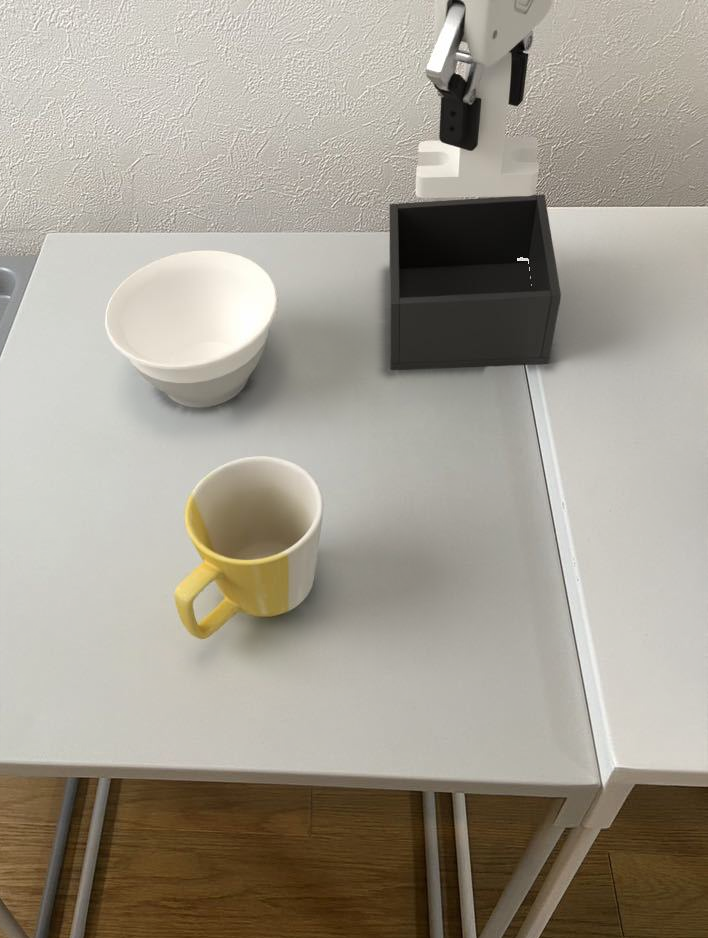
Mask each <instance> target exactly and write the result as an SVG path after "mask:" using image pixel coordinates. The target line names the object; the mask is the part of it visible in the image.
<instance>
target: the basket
mask: <svg viewBox="0 0 708 938" xmlns="http://www.w3.org/2000/svg"><path fill="white" fill-rule="evenodd" d="M551 230H552V229H551V224H550V219H549V211H548V207H547V200H546V195H545V194H534V195H531V196H504V197H476V198H462V199H448V200H446V199H445V200H431V201H416V202H415V201H414V202H402V203H401V202H400V203H389V259H388V260H389V263H388V264H389V339H390V340H389V344H390V345H389V346H390V347H389V348H390V349H389V350H390V355H389V356H390V357H389V358H390V360H389V361H390V370H415V369H416V370H417V369H441V368H442V369H443V368H467V367H469V368H470V367H494V366H495V367H496V366H520V365H521V366H522V365H543V364H544V365H546V364H549V362H550V357H551V352H552V347H553V342H554V341H553V340H554V337H555V332H556V331H555V330H556V324H557V321H558V316H559V315H558V314H559V309H560V304H561V298H562V294H561V288H560V287H561V286H560V281H559V274H558V268H557V262H556V255H555V249H554V243H553V238H552V231H551ZM520 257H523V258H528V259H529V264H528V261H517V258H520ZM529 267H530V271H529ZM530 276H531V279H530ZM531 284H532V286H531Z"/></svg>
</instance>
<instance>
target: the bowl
mask: <svg viewBox="0 0 708 938" xmlns="http://www.w3.org/2000/svg"><path fill="white" fill-rule="evenodd" d="M278 305H279V296H278V290H277V287H276V285H275V283H274V280H273V278H272V277H271V275H270V274H269V273H268V272H267V270H265V268H264V267H263V266H261V265H259V264H258V263H256V262H255V261H254V260H253V259H250V258H247V257H245V256H243V255H240V254H236V253H232V252H228V251H222V250H212V249H211V250H210V249H208V250H206V249H205V250H192V251H184V252H178V253H175V254H172V255H168V256H164V257H162V258H159V259H157V260H155V261H154V260H153V261H152V262H149V263H148V264H146V265H144V266H142V267H141V268H139V269H136V271H135V272H133V273H132V274H131V275H129V276H128V277H127V278H126V279H124V280H123V281H122V282H121V284H120V285H119V286H118V287H117V288H116V289H115V290H114V292H113V293H112V295H111V298H110V299H109V300H108V303H107V307H106V310H105V315H104V316H105V318H104V326H105V331H106V333H107V337H108V339H109V340H110V342H111V344H112V346H114V348H115V349H117V350H118V351H119V353H121V354H122V355H123V356H124V357H126V358H128V360H129V361H130V363H131V365H133V367H134V368H135V370H136V371H137V373H138V374H139V376H141V377H142V378H143V379H144V380H146V382H148V383H149V384H151V385H152V387H154V388H155V389H157V390H158V391H161V392H162V393H165V394H166V395H167V397H169V398H170V399H171V400H172V401H174V402H176V403H177V404H179V405H182V406H185V407H190V408H211V407H214V406H218V405H221V404H224V403H226V402H229V401H230V400H232V399H234V398H235V397H236V396H237V395H238V394H239V393H241V392H242V390H243V389H244V387H245V386H246V385H247V383H248V381H249V378H250V376H251V374H252V373H253V371H254V370H255V368H256V367H257V366H258V363H259V361H260V359H261V358H262V356H263V353H264V350H265V348H266V345H267V344H266V343H267V338H268V335H269V330H270V326H271V325H272V323H273V321H274V319H275V317H276V314H277V311H278Z"/></svg>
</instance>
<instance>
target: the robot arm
mask: <svg viewBox="0 0 708 938" xmlns="http://www.w3.org/2000/svg"><path fill="white" fill-rule="evenodd" d="M552 6H553V0H434V5H433V41H434V43H433V44H434V48H433V51H432V53H431V55H430V58H429V61H428V63H427V65H426V69H425V77H426V78H428V80H429V81H430V82H431V83H432V84H433V87H434V88H435V89H436V91H437V96H438V97H440V111H439V113H440V114H439V134H438V139H439V140H440V141H441V142H442V143H445V144H449V145H452V146H455V147H458V148H462V149H465V150H468V151H473V150H474V149H475V148H476V147H477V145H478V135H479V123H480V111H481V98H477V97H476V96H477V92H478V88H479V84H480V80H481V76H482V72H483V68H484V66H486V67H488V66H491V65H493V64H495V63H496V62H497V61H499V60H500V59H501V58H502V57H503V56H505V55H506V54H507V53H511V79H510V92H509V103H508V106H513V107H518V106H519V105H521V103H523V101H524V95H525V87H526V80H527V79H526V78H527V70H528V63H529V62H528V61H529V53H527V52H528V51H530V49H531V48H532V45H533V41H534V32H533V30H534V29H535V28H536V27H537V26H538V25H539V24H540V23H541V22H542V21H543V20H545V18H546V16H547V15H548V14H549V12H550V10H551V8H552ZM462 42H463V43H466V45H467V48H468V51H467V50H462V49H460V46H461V43H462ZM458 62H460V63H464V64H465V63H468V64H471V66H470V70H469V74H468V78H467V82H466V81H465V80H464V76H462V74H459V73H456V70H457V66H458Z"/></svg>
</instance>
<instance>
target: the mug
mask: <svg viewBox="0 0 708 938" xmlns="http://www.w3.org/2000/svg"><path fill="white" fill-rule="evenodd" d="M323 516H324V497H323V493H322V490H321V488H320V486H319V483H318V482H317V480H316V479H315V478H314V477H313V476H312V474H310V472H308V471H307V470H306V469H304V467H302V466H300V465H298V464H296V463H295V462H292V461H289V460H286V459H283V458H279V457H274V456H266V455H265V456H264V455H258V456H257V455H255V456H247V457H246V456H245V457H242V458H238V459H233V460H231V461H229V462H227V463H225V464H222V465H220V466H218V467H216V468H214V469H213V470H212V471H211V472H209V473H208V474H206V475H204V477H203V478H201V480H199V481H198V483H197V484H196V485H195V487H194V488H193V490H192V491H191V493H190V494H189V497H188V498H187V501H186V504H185V508H184V522H185V523H184V525H185V526H184V527H185V529H186V532H187V535H188V537H189V538H190V541H191V542H192V544H193V546H194V548H195V549H196V551H197V553H198V555H199V556H200V558H201V560H202V562H201V563H200V564H198V566H196V568H195V569H194V570H192V571H191V572H190V573H189V574H188V575H187V576H186V577H185V578H184V579H183V580H182V581H181V582H179V584H177V586H176V587H175V590H174V593H173V594H174V597H173V598H174V602H175V607H176V610H177V614H178V617H179V619H180V621H181V623H182V625H183V626H184V628H185V629H186V631H187V632H188V633H189V634H190V635H191V636H193V637H194V638H196V639H199V640H206V639H208V638H210V637H211V636H213V635H214V634H215V633H216V632H217V631H219V630H220V629H221V628H222V627H223V626H224V625H225V624H226V623H228V621H229V620H231V619H232V618H233V617H234V616H235V615H236V614H238V613H242V614H246V615H248V616H253V617H261V618H263V617H264V618H265V617H269V618H270V617H275V616H279V615H282V614H285V613H288V612H290V611H291V610H293V609H295V608H296V607H298V606H299V605H300V604H301V603H302V602H304V600H305V599H306V598H307V597H308V596H309V594H310V592H311V590H312V587H313V584H314V581H315V575H316V566H317V559H318V552H319V547H320V546H319V545H320V538H321V532H322V524H323ZM212 582H215V584H216V586H217V587H218V589H219V591H220V593H221V594H222V597H223V599H222V600H221V602H220V603H218V605H217V606H216V607H215V608H213V609H212V610H211V611H210V612H209V613H208V614H207V615H205V617H204V618H202V619H201V620H200V621H199V622H198V621H197V619H196V615H195V611H194V601H195V600H196V598H197V597H198V596H199V595H200V593H202V592H203V591H204V590H205V589H206V588H207V587H208V586H209V585H210V584H212Z"/></svg>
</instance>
